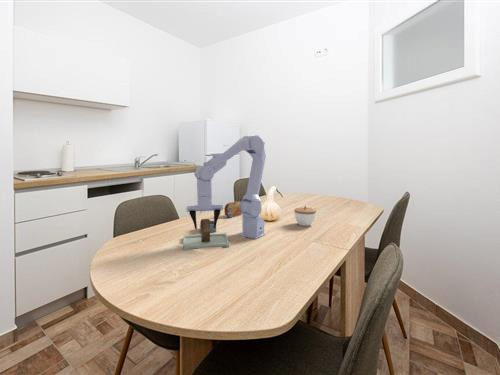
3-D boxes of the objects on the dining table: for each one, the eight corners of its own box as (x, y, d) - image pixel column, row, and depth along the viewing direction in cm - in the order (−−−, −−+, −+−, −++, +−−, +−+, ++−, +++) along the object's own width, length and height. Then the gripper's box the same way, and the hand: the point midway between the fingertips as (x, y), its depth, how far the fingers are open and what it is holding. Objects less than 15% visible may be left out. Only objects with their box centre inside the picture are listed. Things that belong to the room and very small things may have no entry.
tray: (226, 236, 126) (225, 233, 126) (229, 247, 114) (229, 243, 113) (184, 239, 123) (184, 235, 123) (182, 250, 110) (182, 246, 110)
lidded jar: (314, 222, 151) (314, 204, 149) (316, 227, 140) (317, 209, 139) (293, 221, 152) (294, 204, 151) (294, 227, 141) (295, 208, 140)
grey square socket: (215, 228, 139) (215, 220, 138) (216, 233, 132) (215, 224, 131) (200, 229, 137) (199, 221, 137) (200, 234, 130) (200, 225, 130)
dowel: (212, 240, 119) (211, 219, 118) (205, 243, 116) (205, 221, 115) (205, 239, 121) (205, 218, 120) (199, 241, 118) (198, 220, 117)
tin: (227, 219, 158) (227, 204, 156) (223, 218, 159) (223, 203, 158) (244, 214, 169) (244, 200, 168) (240, 213, 171) (240, 199, 170)
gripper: (221, 193, 121) (222, 224, 123) (186, 194, 118) (187, 226, 120) (223, 196, 114) (223, 229, 116) (185, 197, 111) (187, 231, 113)
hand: (205, 228), depth 117 cm, fingers open, 7 cm apart
